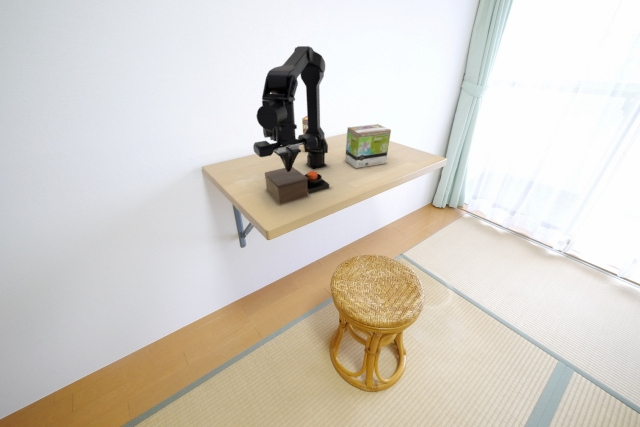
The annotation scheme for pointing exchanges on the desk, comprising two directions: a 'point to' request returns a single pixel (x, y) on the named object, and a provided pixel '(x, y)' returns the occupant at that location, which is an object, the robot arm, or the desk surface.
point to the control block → (316, 184)
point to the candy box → (305, 124)
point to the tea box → (367, 145)
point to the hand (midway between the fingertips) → (288, 171)
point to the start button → (312, 175)
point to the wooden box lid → (285, 176)
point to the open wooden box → (287, 191)
